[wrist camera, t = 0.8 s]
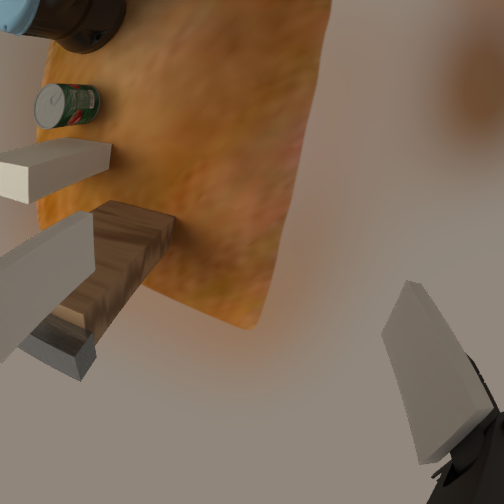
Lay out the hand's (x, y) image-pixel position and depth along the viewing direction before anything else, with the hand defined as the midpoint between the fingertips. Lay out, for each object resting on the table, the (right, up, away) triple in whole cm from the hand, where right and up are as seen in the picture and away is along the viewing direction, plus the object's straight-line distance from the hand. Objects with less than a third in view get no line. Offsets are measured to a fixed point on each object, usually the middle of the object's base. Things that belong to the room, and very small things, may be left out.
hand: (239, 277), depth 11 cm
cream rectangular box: (-32, +20, +38) cm, 53 cm away
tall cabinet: (-21, +7, +43) cm, 48 cm away
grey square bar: (-28, -6, +16) cm, 33 cm away
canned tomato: (-31, +29, +34) cm, 54 cm away
